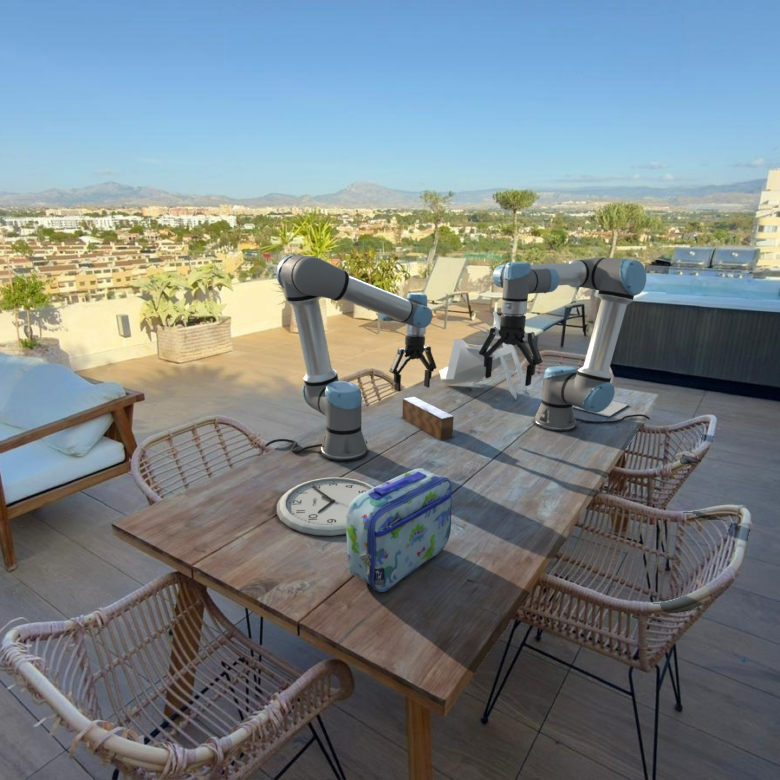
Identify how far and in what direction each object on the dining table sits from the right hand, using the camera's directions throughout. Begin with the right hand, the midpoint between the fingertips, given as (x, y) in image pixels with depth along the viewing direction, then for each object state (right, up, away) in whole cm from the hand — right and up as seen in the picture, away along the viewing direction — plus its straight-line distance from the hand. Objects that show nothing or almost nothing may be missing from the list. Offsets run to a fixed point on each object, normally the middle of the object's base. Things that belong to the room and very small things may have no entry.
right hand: (507, 381), depth 166 cm
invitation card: (+54, -10, +60) cm, 82 cm away
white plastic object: (+4, -4, +77) cm, 77 cm away
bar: (-24, -17, +34) cm, 45 cm away
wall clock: (-53, -34, -23) cm, 67 cm away
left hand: (-29, -2, +38) cm, 47 cm away
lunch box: (-35, -43, -48) cm, 73 cm away
